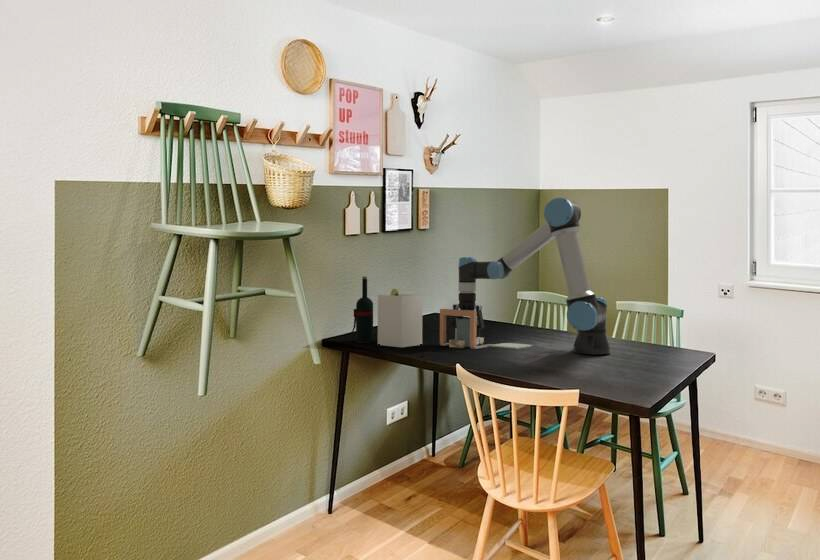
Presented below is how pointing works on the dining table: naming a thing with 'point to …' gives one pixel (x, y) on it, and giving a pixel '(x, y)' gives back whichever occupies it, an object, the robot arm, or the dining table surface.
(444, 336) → the wooden arch
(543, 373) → the dining table surface
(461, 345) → the beige rectangular block
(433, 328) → the dining table surface
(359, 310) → the wine bottle
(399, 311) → the light grey box
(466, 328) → the grey open tube
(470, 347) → the rails
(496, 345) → the coaster
